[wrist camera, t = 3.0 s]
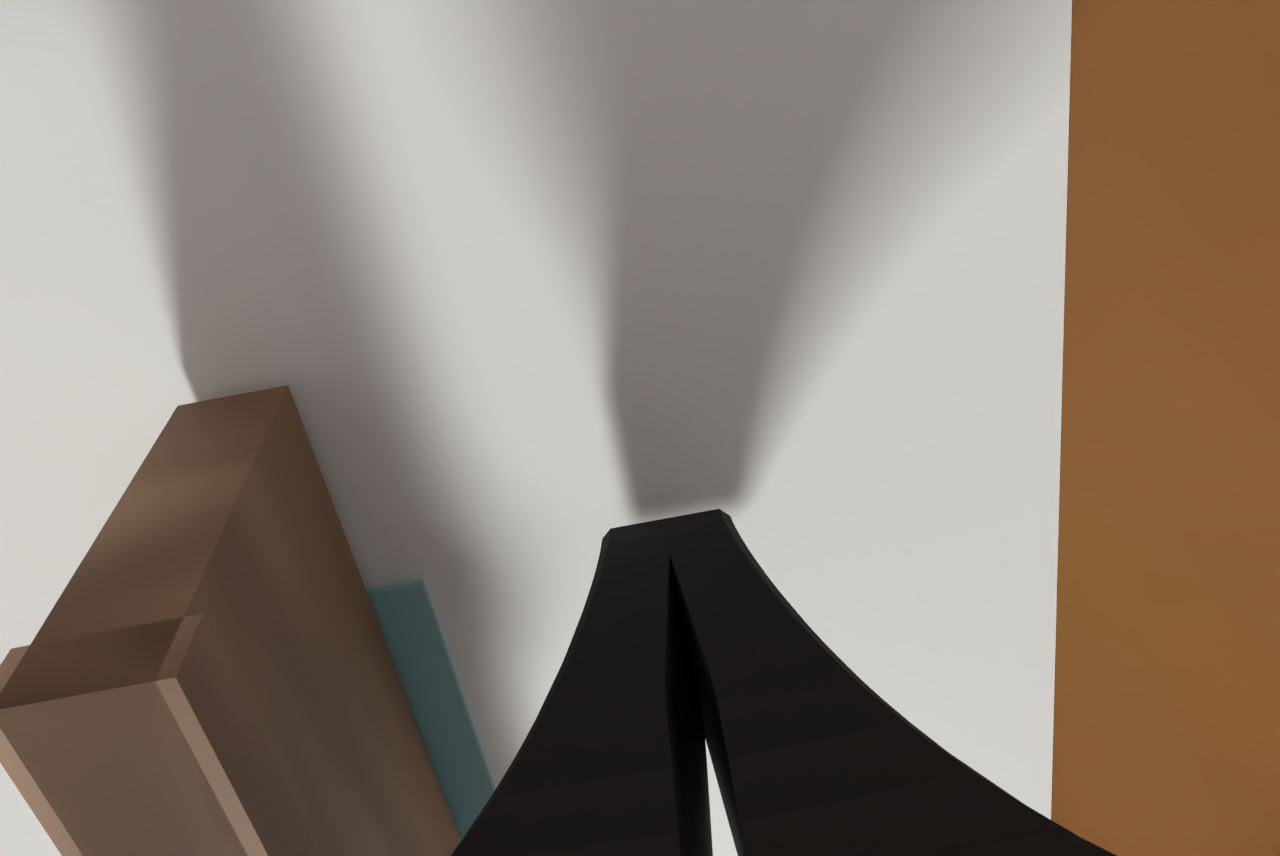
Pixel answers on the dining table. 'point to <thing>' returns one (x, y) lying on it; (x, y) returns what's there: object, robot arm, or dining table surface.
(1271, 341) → the dining table surface
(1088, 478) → the dining table surface
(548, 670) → the card
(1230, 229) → the dining table surface
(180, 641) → the fence panel
